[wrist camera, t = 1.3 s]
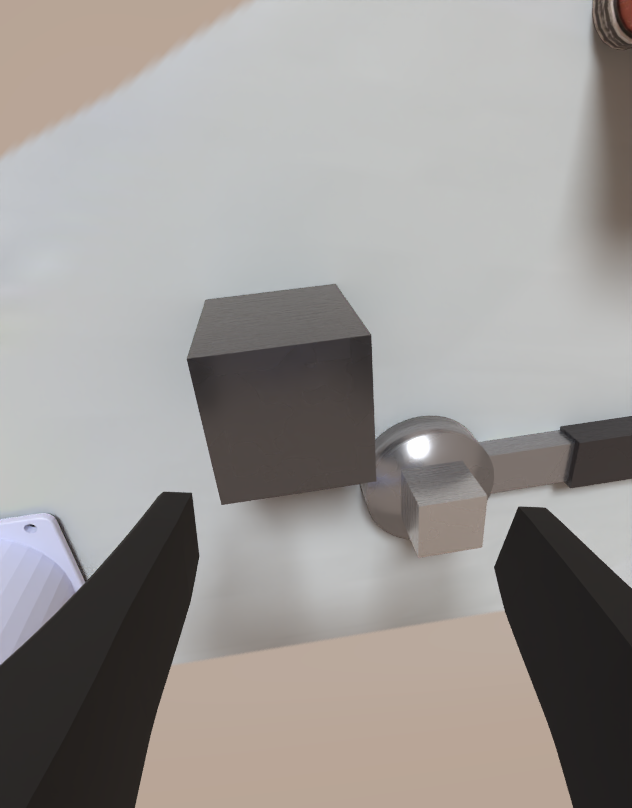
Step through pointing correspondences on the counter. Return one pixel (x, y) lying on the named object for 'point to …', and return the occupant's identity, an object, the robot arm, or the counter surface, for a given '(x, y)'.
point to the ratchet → (480, 474)
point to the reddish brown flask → (614, 22)
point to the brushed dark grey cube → (284, 392)
